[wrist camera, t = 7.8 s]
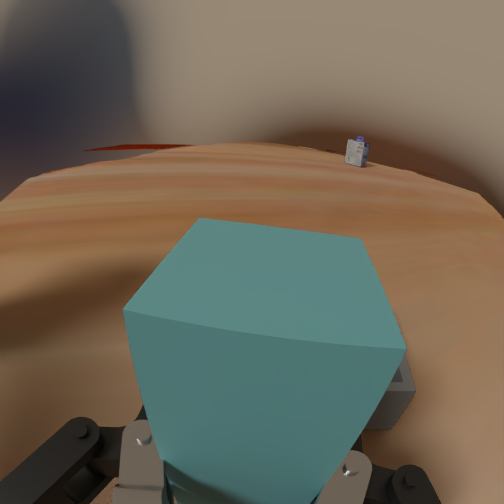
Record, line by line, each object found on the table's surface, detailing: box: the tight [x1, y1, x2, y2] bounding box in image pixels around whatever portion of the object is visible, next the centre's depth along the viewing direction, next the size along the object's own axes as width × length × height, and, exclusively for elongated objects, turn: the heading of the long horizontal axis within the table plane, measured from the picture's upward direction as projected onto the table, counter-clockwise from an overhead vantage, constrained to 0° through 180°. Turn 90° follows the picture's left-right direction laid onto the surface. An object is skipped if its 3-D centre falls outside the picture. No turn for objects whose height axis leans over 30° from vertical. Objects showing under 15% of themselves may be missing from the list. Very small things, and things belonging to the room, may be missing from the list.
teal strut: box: [123, 218, 407, 504], centre depth 9 cm, size 4×4×14 cm
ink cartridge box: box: [345, 136, 369, 167], centre depth 141 cm, size 10×6×14 cm, turn 39°
